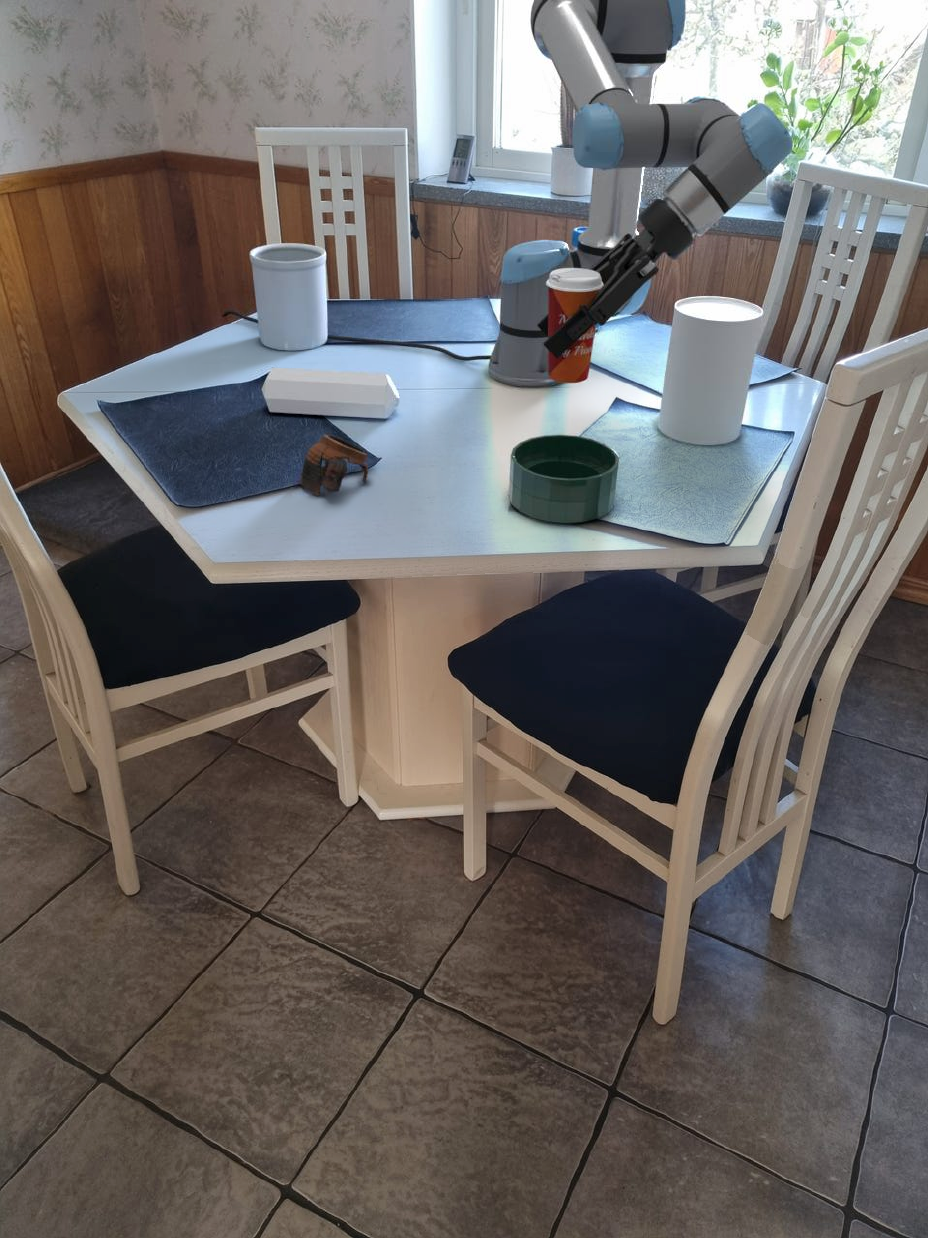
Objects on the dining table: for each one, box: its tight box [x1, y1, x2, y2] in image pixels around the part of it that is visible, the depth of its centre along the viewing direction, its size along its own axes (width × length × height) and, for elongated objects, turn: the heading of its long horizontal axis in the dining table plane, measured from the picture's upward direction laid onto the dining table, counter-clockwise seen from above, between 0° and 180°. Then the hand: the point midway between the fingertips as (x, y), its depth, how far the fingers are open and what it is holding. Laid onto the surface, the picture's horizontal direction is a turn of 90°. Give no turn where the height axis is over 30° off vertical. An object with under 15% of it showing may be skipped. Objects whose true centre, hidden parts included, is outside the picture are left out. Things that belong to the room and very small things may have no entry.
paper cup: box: [546, 268, 604, 384], centre depth 128 cm, size 8×8×14 cm
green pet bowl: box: [508, 434, 620, 524], centre depth 133 cm, size 15×15×7 cm
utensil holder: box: [249, 242, 328, 352], centre depth 188 cm, size 15×15×18 cm
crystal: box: [261, 367, 401, 419], centre depth 161 cm, size 7×7×24 cm
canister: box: [657, 295, 764, 446], centre depth 152 cm, size 14×14×20 cm
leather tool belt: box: [299, 433, 369, 496], centre depth 136 cm, size 12×10×8 cm
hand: (546, 341), depth 129 cm, fingers closed on paper cup, 8 cm apart
